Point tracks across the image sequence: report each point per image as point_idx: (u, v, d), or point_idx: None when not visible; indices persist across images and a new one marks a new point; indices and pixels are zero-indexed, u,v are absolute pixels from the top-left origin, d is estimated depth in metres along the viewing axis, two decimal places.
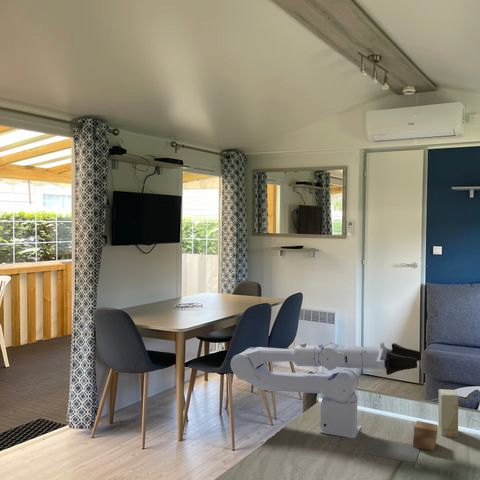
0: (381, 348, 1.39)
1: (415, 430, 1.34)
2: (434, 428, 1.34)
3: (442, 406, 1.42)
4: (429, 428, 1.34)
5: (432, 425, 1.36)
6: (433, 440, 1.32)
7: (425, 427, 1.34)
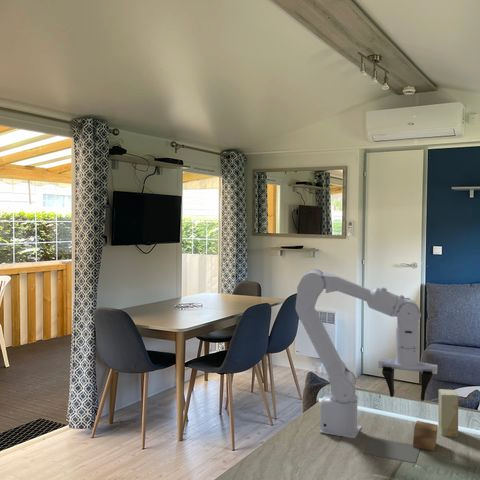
0: None
1: (415, 430, 1.34)
2: (434, 428, 1.34)
3: (442, 406, 1.42)
4: (429, 428, 1.34)
5: (432, 425, 1.36)
6: (433, 440, 1.32)
7: (425, 427, 1.34)
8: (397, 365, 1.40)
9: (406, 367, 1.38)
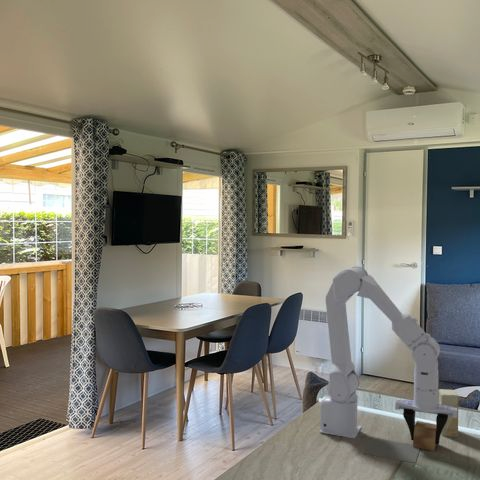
0: None
1: (415, 430, 1.34)
2: (434, 428, 1.34)
3: None
4: (429, 428, 1.34)
5: (432, 425, 1.36)
6: (433, 440, 1.32)
7: (425, 427, 1.34)
8: (415, 407, 1.34)
9: (425, 410, 1.33)
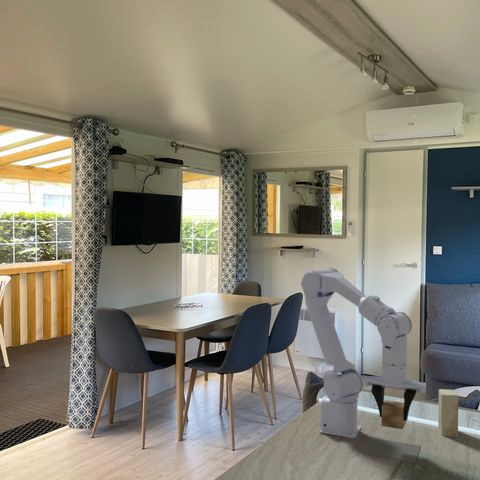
0: None
1: (383, 409, 1.32)
2: (402, 406, 1.31)
3: (442, 406, 1.42)
4: (397, 406, 1.31)
5: (400, 403, 1.34)
6: (401, 418, 1.30)
7: (393, 405, 1.32)
8: (383, 383, 1.31)
9: (392, 385, 1.30)
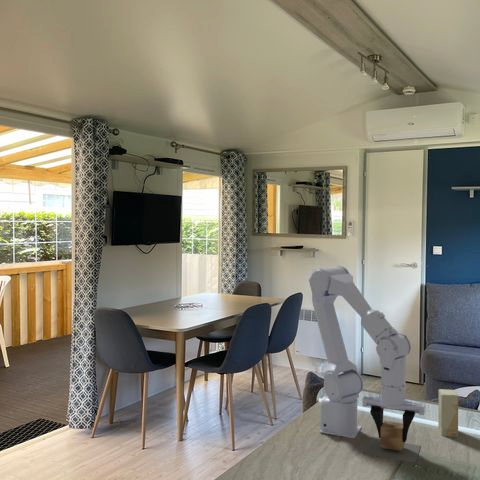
0: None
1: (382, 430, 1.32)
2: (401, 427, 1.32)
3: (442, 406, 1.42)
4: (395, 427, 1.31)
5: (399, 424, 1.34)
6: (400, 439, 1.30)
7: (392, 427, 1.32)
8: (382, 404, 1.31)
9: (391, 407, 1.30)
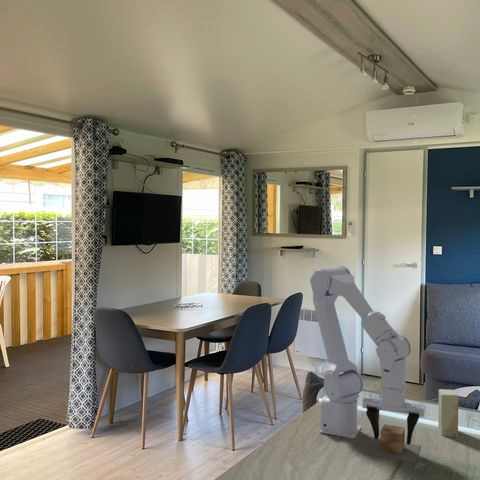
0: None
1: (381, 435, 1.32)
2: (401, 432, 1.31)
3: (442, 406, 1.42)
4: (395, 432, 1.31)
5: (399, 428, 1.34)
6: (400, 444, 1.30)
7: (391, 431, 1.32)
8: (382, 406, 1.31)
9: (391, 409, 1.30)
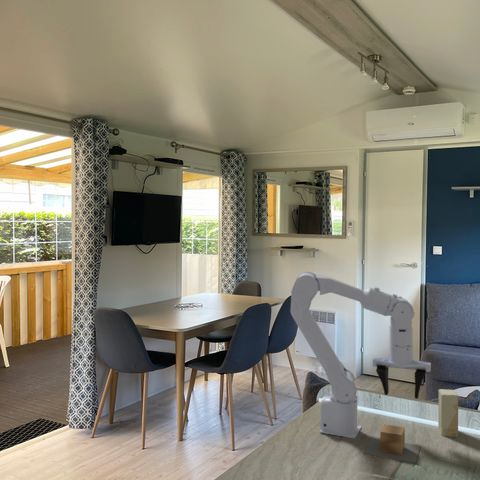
0: None
1: (381, 435, 1.32)
2: (401, 432, 1.31)
3: (442, 406, 1.42)
4: (395, 432, 1.31)
5: (399, 428, 1.34)
6: (400, 444, 1.30)
7: (391, 431, 1.32)
8: (391, 363, 1.41)
9: (400, 365, 1.39)
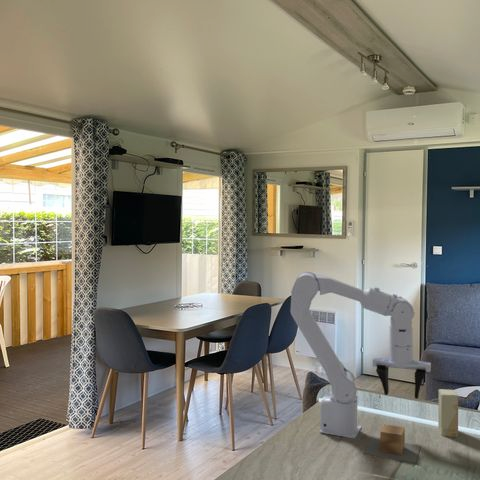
0: None
1: (381, 435, 1.32)
2: (401, 432, 1.31)
3: (442, 406, 1.42)
4: (395, 432, 1.31)
5: (399, 428, 1.34)
6: (400, 444, 1.30)
7: (391, 431, 1.32)
8: (391, 363, 1.41)
9: (400, 365, 1.39)
